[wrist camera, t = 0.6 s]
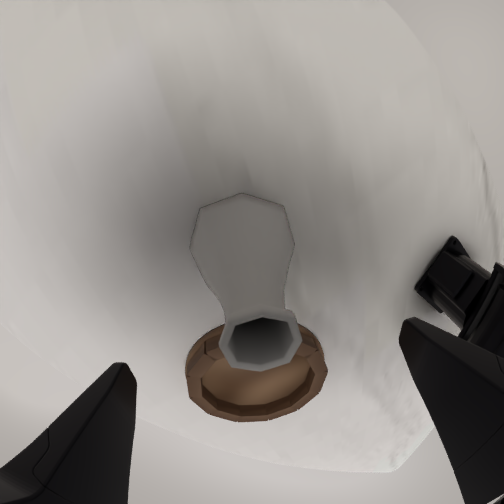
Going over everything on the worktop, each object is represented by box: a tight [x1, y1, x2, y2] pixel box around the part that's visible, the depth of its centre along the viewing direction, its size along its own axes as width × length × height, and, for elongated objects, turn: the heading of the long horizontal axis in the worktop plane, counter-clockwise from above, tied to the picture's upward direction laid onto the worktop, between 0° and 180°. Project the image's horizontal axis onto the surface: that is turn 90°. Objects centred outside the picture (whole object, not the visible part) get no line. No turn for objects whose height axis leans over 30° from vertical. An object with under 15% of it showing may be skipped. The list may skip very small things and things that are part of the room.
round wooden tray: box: [185, 324, 328, 422], centre depth 23 cm, size 13×13×2 cm
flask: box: [189, 193, 302, 372], centre depth 15 cm, size 7×7×10 cm
